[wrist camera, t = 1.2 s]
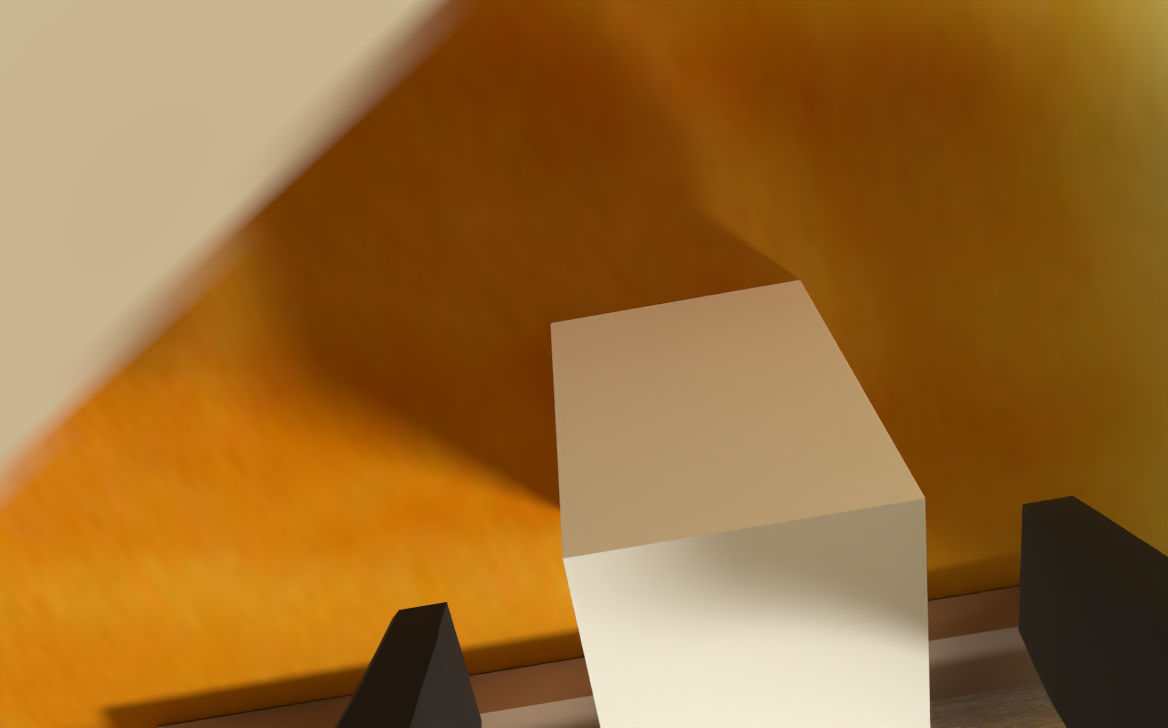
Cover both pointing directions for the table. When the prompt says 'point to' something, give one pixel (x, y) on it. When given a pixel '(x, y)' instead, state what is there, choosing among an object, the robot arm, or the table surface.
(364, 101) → the table surface
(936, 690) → the track
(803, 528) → the cream block
